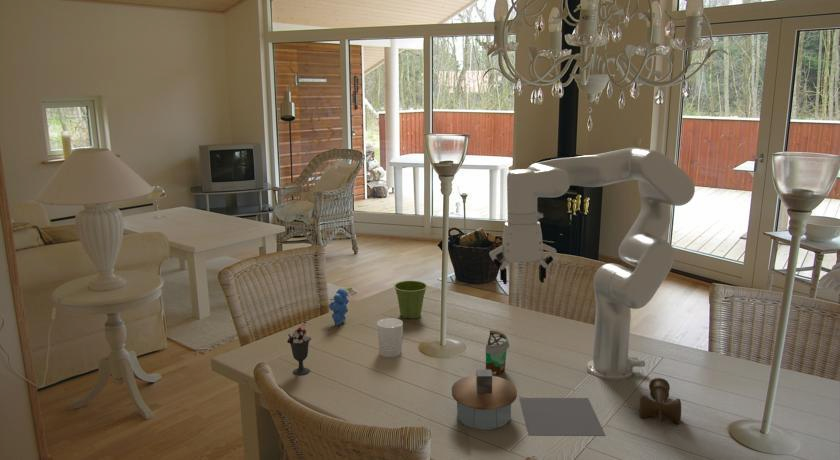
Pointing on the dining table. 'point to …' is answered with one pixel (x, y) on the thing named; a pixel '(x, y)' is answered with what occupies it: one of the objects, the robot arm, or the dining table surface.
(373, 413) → the dining table surface
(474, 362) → the dining table surface
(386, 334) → the white cup
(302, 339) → the sundae
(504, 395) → the lid
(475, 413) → the bowl
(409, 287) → the plant pot
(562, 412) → the mat
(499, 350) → the food container
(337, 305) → the grapes
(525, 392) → the dining table surface
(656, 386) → the kendama
